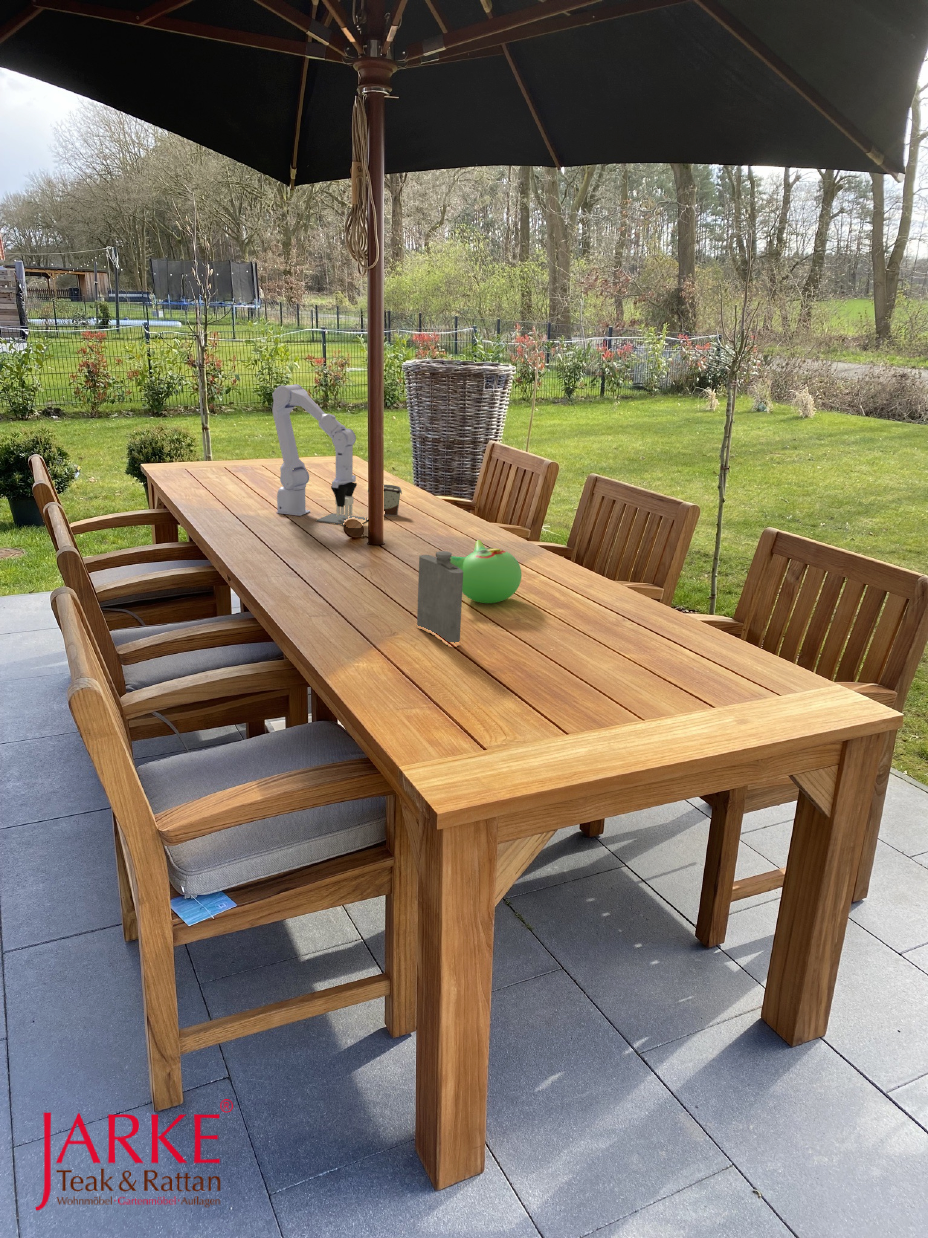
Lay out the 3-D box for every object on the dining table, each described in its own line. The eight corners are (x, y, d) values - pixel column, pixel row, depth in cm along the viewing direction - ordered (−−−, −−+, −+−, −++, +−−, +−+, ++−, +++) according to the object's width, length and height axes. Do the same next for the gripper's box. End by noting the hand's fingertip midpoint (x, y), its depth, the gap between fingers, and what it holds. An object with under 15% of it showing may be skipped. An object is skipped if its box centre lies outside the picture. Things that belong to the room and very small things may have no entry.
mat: (316, 521, 307) (316, 519, 306) (332, 514, 317) (332, 513, 317) (356, 526, 302) (356, 525, 302) (370, 519, 313) (370, 518, 313)
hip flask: (414, 626, 212) (417, 545, 206) (429, 624, 215) (432, 543, 208) (450, 648, 200) (454, 562, 193) (465, 645, 202) (469, 560, 196)
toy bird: (496, 616, 222) (500, 559, 217) (440, 602, 231) (442, 547, 226) (530, 598, 237) (534, 545, 232) (476, 586, 245) (479, 534, 240)
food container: (404, 512, 326) (404, 485, 323) (401, 516, 320) (401, 488, 317) (370, 510, 327) (371, 483, 324) (367, 513, 321) (367, 486, 318)
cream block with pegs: (347, 517, 306) (347, 498, 304) (335, 515, 308) (335, 497, 306) (353, 514, 310) (353, 496, 308) (341, 513, 312) (341, 495, 310)
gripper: (345, 470, 296) (345, 510, 300) (363, 463, 309) (363, 502, 313) (326, 467, 298) (326, 508, 302) (345, 461, 311) (345, 500, 315)
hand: (344, 505), depth 308 cm, fingers closed on cream block with pegs, 5 cm apart
